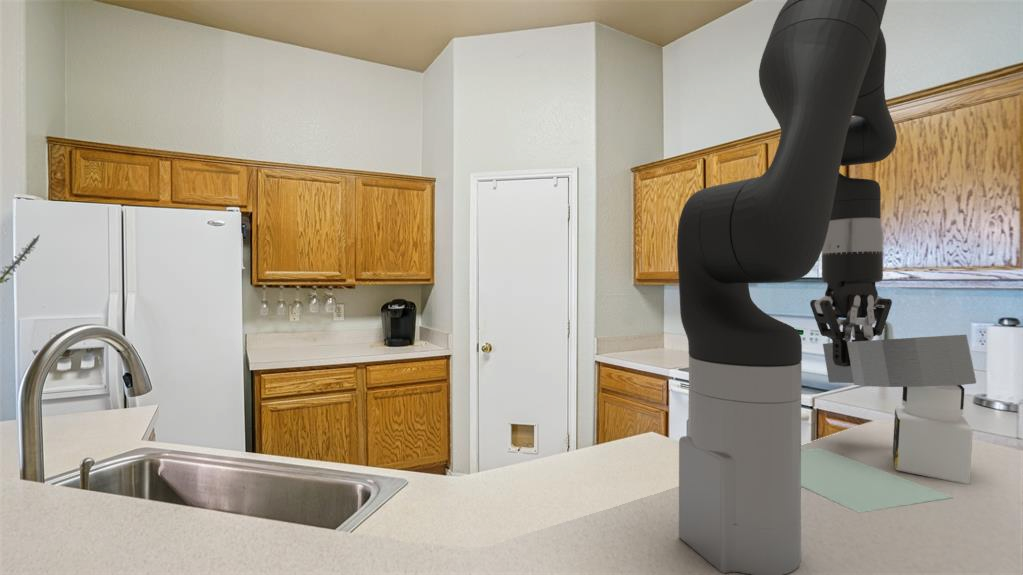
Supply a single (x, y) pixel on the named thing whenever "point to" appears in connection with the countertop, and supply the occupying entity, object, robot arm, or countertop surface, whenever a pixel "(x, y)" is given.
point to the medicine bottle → (933, 433)
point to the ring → (905, 362)
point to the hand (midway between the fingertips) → (851, 364)
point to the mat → (859, 483)
